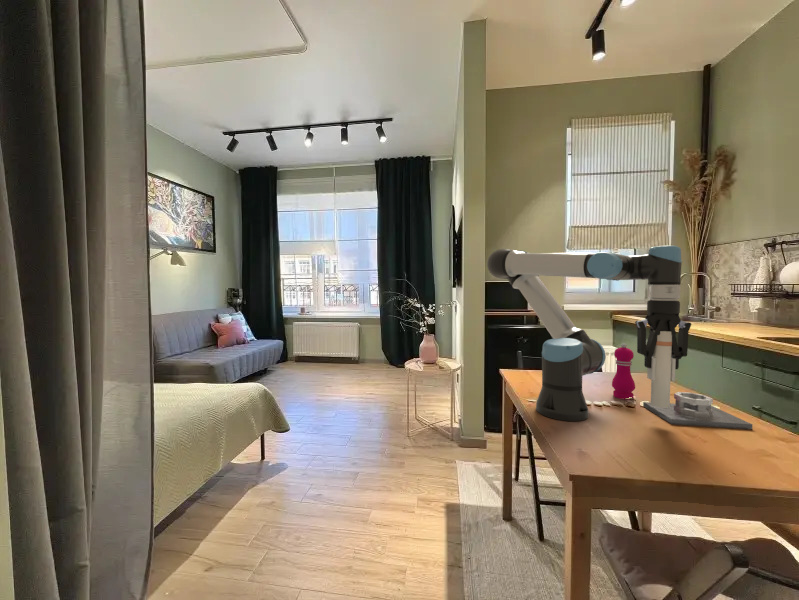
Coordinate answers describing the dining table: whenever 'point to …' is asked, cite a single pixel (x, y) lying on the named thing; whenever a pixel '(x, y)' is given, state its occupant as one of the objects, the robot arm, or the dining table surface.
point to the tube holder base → (697, 412)
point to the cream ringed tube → (662, 371)
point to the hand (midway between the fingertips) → (660, 379)
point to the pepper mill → (623, 373)
